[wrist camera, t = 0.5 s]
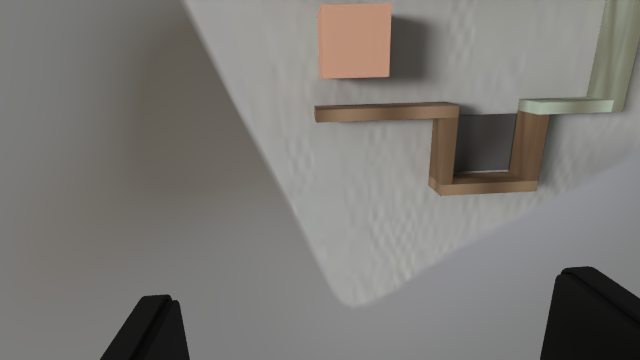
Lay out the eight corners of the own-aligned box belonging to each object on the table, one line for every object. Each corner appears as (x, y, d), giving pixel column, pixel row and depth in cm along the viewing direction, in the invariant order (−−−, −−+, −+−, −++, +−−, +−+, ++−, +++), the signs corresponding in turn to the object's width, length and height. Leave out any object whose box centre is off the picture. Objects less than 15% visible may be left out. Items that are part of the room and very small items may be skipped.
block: (318, 76, 31) (322, 78, 27) (317, 13, 30) (321, 4, 25) (375, 74, 32) (389, 76, 27) (376, 12, 30) (391, 3, 25)
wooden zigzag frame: (316, 190, 34) (318, 201, 32) (307, -142, 26) (308, -166, 23) (579, 178, 36) (603, 187, 33) (647, -140, 28) (687, -164, 25)
